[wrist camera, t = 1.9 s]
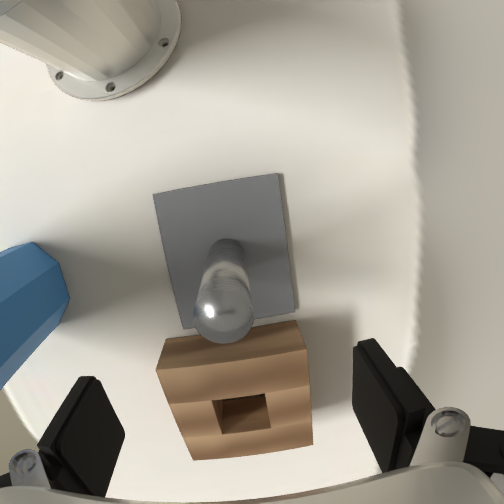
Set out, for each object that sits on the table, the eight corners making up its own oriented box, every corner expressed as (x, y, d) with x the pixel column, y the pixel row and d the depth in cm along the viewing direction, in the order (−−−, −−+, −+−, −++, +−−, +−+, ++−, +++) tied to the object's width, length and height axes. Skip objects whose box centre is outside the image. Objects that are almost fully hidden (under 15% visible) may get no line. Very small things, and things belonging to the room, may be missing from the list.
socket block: (165, 339, 29) (155, 369, 24) (295, 320, 29) (306, 348, 24) (196, 427, 32) (193, 460, 27) (304, 412, 32) (313, 444, 27)
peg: (205, 241, 26) (187, 294, 15) (242, 235, 26) (248, 285, 15) (212, 276, 27) (199, 347, 16) (247, 270, 27) (257, 338, 16)
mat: (153, 194, 25) (152, 194, 25) (276, 173, 25) (277, 173, 25) (184, 327, 28) (183, 329, 28) (294, 310, 28) (295, 312, 28)
